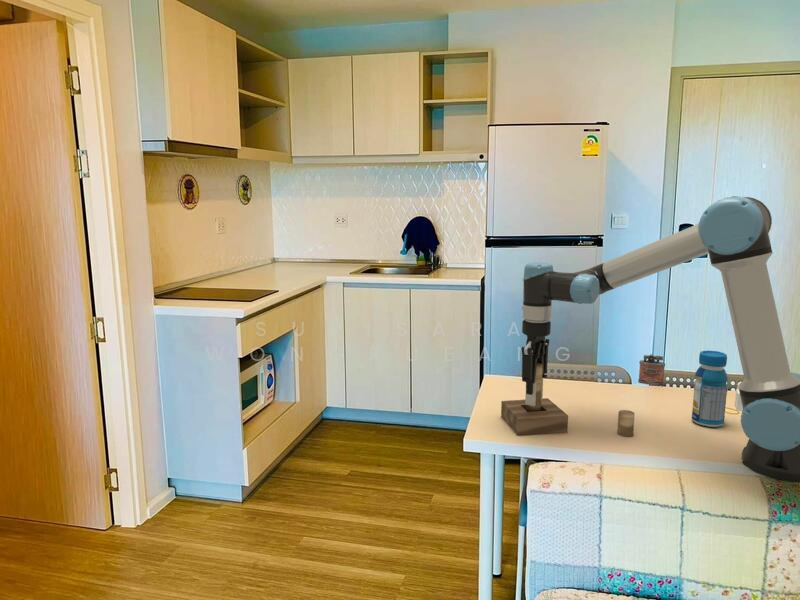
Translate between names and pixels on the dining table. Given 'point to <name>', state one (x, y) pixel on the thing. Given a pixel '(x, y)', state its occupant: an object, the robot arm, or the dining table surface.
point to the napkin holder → (738, 400)
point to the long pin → (537, 390)
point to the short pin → (625, 423)
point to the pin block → (534, 418)
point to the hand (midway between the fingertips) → (533, 402)
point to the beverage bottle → (710, 389)
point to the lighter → (651, 370)
